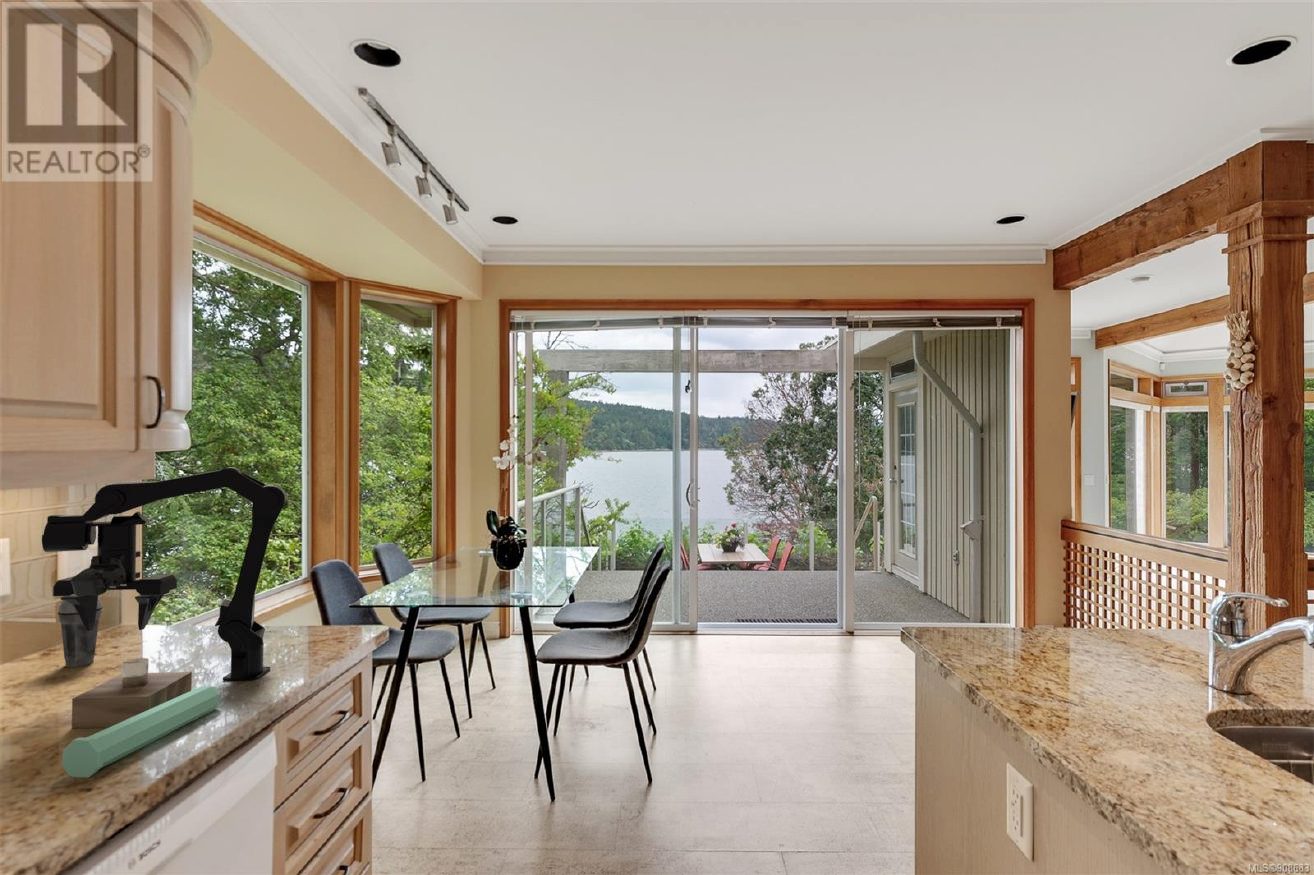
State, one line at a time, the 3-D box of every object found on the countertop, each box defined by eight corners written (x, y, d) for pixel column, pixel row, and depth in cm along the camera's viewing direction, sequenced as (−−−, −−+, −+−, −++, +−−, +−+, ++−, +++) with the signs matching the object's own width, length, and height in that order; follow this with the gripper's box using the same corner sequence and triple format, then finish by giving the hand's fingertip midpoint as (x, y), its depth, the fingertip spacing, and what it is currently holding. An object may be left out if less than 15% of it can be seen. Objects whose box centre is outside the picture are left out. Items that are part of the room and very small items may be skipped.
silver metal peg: (131, 705, 118) (131, 658, 118) (152, 705, 118) (153, 657, 118) (116, 713, 114) (117, 665, 114) (139, 713, 115) (139, 664, 115)
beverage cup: (47, 668, 138) (48, 573, 138) (83, 657, 145) (84, 567, 146) (75, 670, 137) (77, 575, 137) (110, 659, 144) (112, 568, 144)
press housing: (122, 700, 122) (122, 673, 122) (191, 698, 123) (191, 671, 123) (71, 728, 110) (72, 698, 110) (148, 726, 111) (149, 696, 111)
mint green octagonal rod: (205, 674, 119) (70, 732, 94) (233, 688, 119) (104, 749, 94) (193, 703, 119) (55, 769, 95) (221, 717, 119) (89, 787, 94)
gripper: (27, 556, 116) (26, 644, 116) (140, 555, 118) (139, 641, 118) (76, 546, 128) (75, 626, 127) (179, 545, 129) (178, 624, 129)
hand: (115, 630), depth 125 cm, fingers open, 9 cm apart
